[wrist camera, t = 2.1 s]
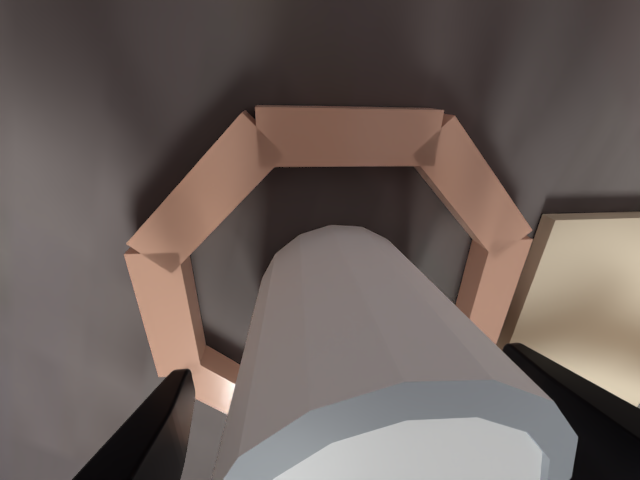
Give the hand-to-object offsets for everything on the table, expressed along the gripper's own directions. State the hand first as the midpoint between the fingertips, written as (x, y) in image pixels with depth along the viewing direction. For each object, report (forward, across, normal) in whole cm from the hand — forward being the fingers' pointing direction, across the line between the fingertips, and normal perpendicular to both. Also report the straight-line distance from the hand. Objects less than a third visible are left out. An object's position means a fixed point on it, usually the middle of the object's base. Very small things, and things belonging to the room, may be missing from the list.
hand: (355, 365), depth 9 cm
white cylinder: (+4, 0, 0) cm, 4 cm away
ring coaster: (+3, 0, 0) cm, 3 cm away
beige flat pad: (+3, -12, +3) cm, 13 cm away
